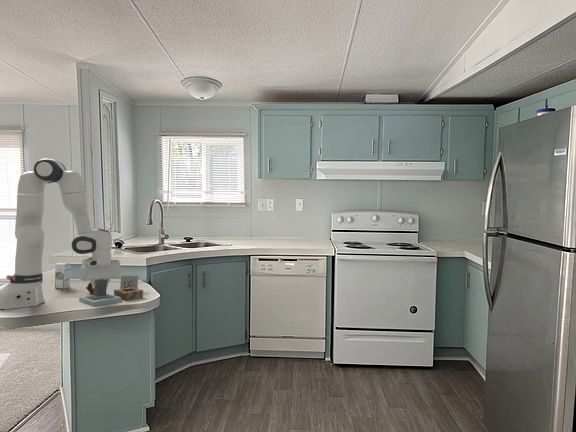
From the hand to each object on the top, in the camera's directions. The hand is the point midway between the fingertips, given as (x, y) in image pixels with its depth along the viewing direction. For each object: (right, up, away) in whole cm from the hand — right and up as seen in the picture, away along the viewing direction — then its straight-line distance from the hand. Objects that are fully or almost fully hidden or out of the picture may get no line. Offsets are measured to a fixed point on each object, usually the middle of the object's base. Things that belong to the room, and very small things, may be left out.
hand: (100, 287), depth 207 cm
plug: (0, -4, 0) cm, 4 cm away
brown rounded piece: (-10, -6, +17) cm, 21 cm away
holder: (+10, -7, +11) cm, 17 cm away
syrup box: (-34, -5, +26) cm, 43 cm away
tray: (0, -7, 0) cm, 7 cm away
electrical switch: (+5, -7, +25) cm, 27 cm away
